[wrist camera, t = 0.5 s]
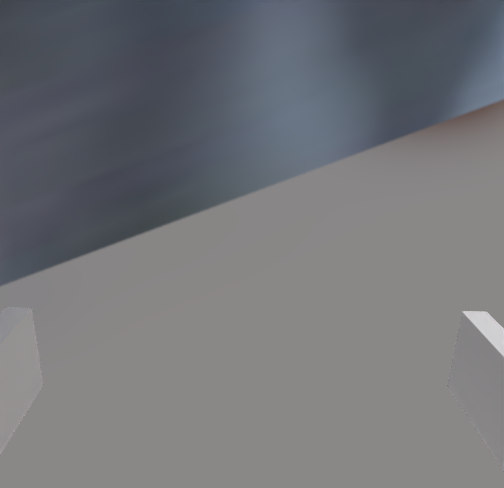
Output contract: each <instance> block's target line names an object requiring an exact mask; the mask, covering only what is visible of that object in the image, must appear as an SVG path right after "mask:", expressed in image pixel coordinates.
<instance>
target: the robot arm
mask: <svg viewBox="0 0 504 488" xmlns="http://www.w3.org/2000/svg"><path fill="white" fill-rule="evenodd" d="M42 386H43V380H42V373H41V366H40V360H39V353H38V347H37V339H36V333H35V327H34V319H33V312H32V308H24V307H23V308H22V307H20V308H19V307H17V308H16V307H14V308H13V307H6V308H5V309H4V310H3V311H2V312H1V313H0V454H1V452H2V451H3V449H4V448H5V446H6V444H7V443H8V441H9V439H10V438H11V436H12V434H13V433H14V431H15V430H16V428H17V426H18V425H19V423H20V422H21V420H22V418H23V417H24V415H25V413H26V412H27V410H28V408H29V407H30V405H31V404H32V402H33V400H34V399H35V397H36V395H37V394H38V392H39V390H40V389H41V387H42ZM447 386H448V388H449V389H450V391H451V392H452V394H453V395H454V397H455V398H456V400H457V401H458V403H459V404H460V406H461V407H462V409H463V410H464V412H465V413H466V415H467V417H468V418H469V420H470V421H471V423H472V424H473V425H474V427H475V429H476V430H477V432H478V433H479V435H480V436H481V438H482V439H483V441H484V442H485V444H486V445H487V447H488V448H489V450H490V451H491V453H492V455H493V456H494V457H495V459H496V461H497V462H498V464H499V465H500V467H501V468H502V470H503V471H504V329H503V328H502V327H501V326H500V325H499V324H498V323H497V322H496V321H495V320H494V319H493V318H492V317H491V316H490V315H489V314H488V313H487V312H475V311H471V312H470V311H465V312H464V311H463V312H462V313H461V319H460V324H459V329H458V334H457V339H456V344H455V349H454V354H453V360H452V365H451V370H450V375H449V380H448V385H447Z"/></svg>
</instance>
